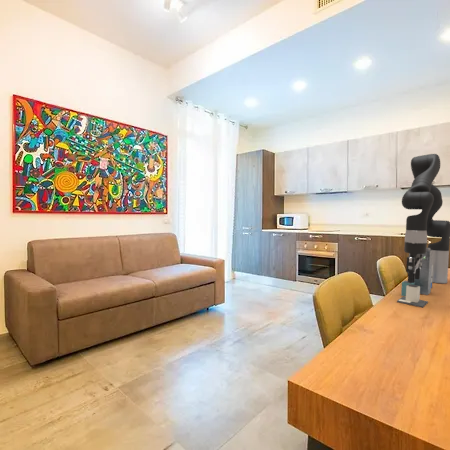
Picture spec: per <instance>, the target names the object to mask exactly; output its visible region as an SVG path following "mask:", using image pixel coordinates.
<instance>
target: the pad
mask: <svg viewBox="0 0 450 450" xmlns="http://www.w3.org/2000/svg"><path fill="white" fill-rule="evenodd" d="M396 303H400V304H403V305H409V306H413V307H414V306H415V307H419V308H424V307H425V306H427V304H428V303H429V301H427V300H423V299H419V302H418V303H415V302H410V301H406V296H401V297H400V298H398V299H397V300H396Z"/></svg>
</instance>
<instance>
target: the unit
mask: <svg viewBox="0 0 450 450" xmlns="http://www.w3.org/2000/svg"><path fill="white" fill-rule="evenodd" d="M432 255H433V250H430V248H428V247H427V250H426V253H425V254H422V268H421V270H420V279H415V282H414V283H415V285H418V286H420V294H421V295H425V296H429V294H431V293H432V292H431V289H432V288H431V274H432ZM408 257H410V253H408ZM410 269H412V268H410Z"/></svg>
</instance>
